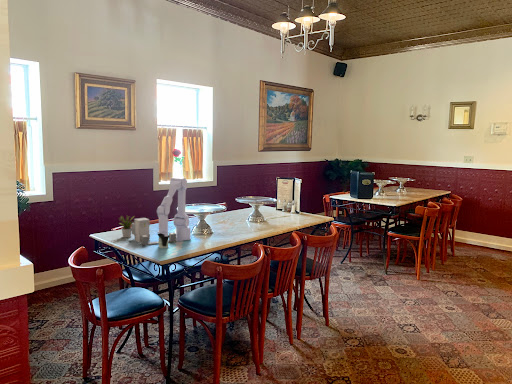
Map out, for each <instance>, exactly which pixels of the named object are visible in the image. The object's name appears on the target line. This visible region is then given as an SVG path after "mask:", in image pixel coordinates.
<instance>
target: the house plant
mask: <svg viewBox="0 0 512 384" xmlns="http://www.w3.org/2000/svg"><path fill="white" fill-rule="evenodd" d="M134 217H135V215H134V216H132V217H128V216H126V217H124V216H123V215H121V216H120V219H119V221H120V222H119V223H118V225H119V226H120V225H121V231H122V232H121V233H122V237H123V238H124V237H128V238H131V236H132V223H134V221H132V220H134ZM129 218H130V219H129Z"/></svg>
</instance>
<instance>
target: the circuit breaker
mask: <svg viewBox="0 0 512 384" xmlns="http://www.w3.org/2000/svg"><path fill="white" fill-rule="evenodd" d="M150 221H151V220H150V219H149V218H146V217H140V218H133V223H132V225H131V228H132V231H131V235H134V241H136V242H137V243H139V244H140V243H141V236H142V235H147V236H148V242H151V240H150V239H151V234H150V226H151V223H150Z"/></svg>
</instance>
